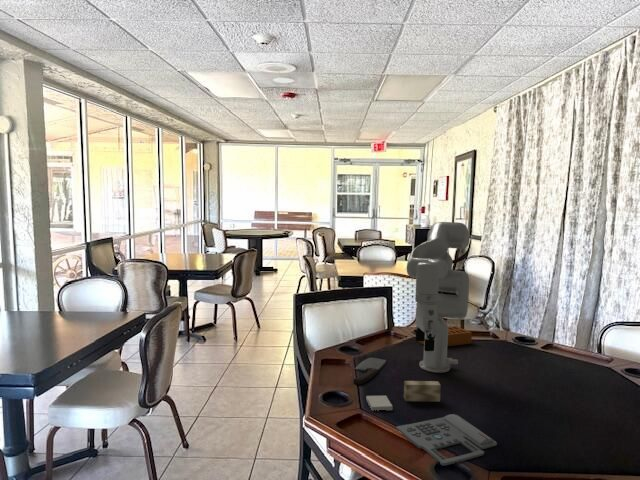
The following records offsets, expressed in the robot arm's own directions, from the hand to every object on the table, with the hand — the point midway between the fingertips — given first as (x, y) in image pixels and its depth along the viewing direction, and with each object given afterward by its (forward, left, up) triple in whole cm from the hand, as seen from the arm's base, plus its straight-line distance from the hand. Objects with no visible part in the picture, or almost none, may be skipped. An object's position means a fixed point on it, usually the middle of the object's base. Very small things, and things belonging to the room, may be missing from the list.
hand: (424, 345), depth 145 cm
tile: (+13, +4, -19) cm, 23 cm away
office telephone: (0, +26, -20) cm, 32 cm away
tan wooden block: (0, +1, -19) cm, 19 cm away
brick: (-32, -63, -20) cm, 73 cm away
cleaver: (+15, -25, -20) cm, 35 cm away
